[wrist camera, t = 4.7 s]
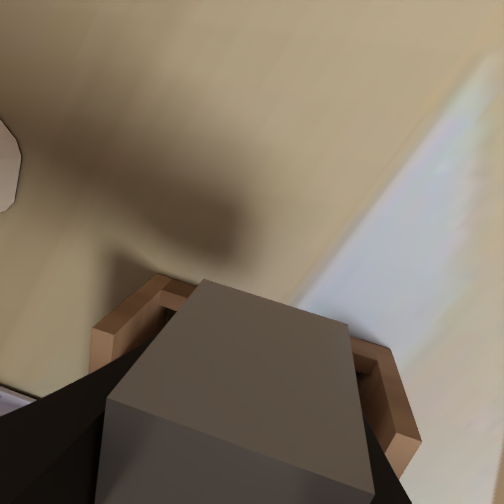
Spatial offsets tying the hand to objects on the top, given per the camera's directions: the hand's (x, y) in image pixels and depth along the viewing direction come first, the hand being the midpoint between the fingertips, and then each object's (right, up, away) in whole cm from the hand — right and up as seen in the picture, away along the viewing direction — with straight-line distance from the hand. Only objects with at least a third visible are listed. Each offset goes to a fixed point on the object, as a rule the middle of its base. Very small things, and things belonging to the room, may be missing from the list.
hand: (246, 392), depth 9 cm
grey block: (0, 0, +1) cm, 2 cm away
